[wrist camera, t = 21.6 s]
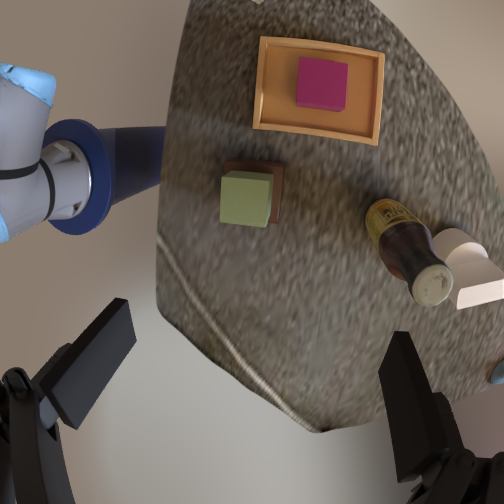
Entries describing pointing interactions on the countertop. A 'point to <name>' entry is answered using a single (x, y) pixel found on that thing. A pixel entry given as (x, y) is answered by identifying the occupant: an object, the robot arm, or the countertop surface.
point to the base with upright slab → (468, 269)
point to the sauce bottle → (408, 251)
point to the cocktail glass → (498, 373)
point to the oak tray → (309, 119)
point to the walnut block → (266, 168)
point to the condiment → (257, 1)
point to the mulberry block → (322, 84)
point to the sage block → (246, 198)
